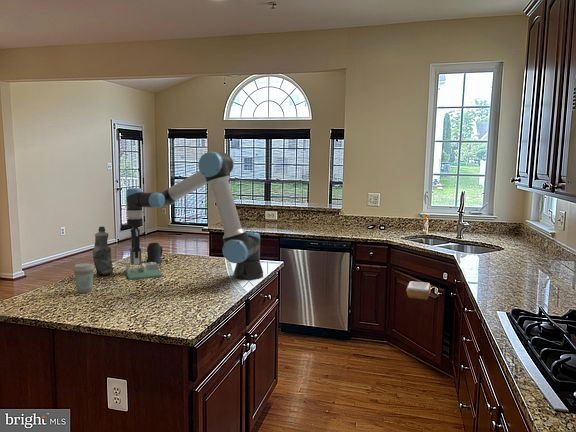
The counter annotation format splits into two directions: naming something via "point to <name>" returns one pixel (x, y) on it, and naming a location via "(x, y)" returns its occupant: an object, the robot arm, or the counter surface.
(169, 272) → the counter surface
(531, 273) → the counter surface
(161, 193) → the robot arm
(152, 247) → the mug
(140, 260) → the plug
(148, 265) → the fan
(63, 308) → the counter surface
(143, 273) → the translucent green tray
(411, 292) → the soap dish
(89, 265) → the coffee cup
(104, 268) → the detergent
